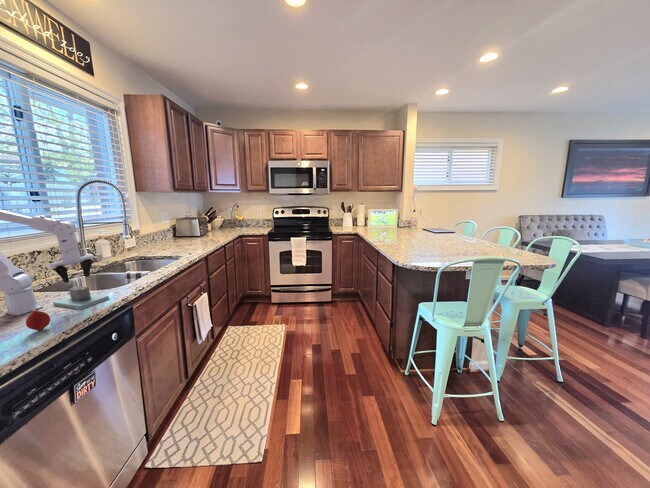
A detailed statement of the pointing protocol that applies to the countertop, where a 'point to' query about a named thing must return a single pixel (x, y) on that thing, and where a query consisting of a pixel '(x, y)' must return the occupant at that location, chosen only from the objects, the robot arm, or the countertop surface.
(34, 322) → the onion
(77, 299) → the connector
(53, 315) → the countertop surface
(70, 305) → the board
